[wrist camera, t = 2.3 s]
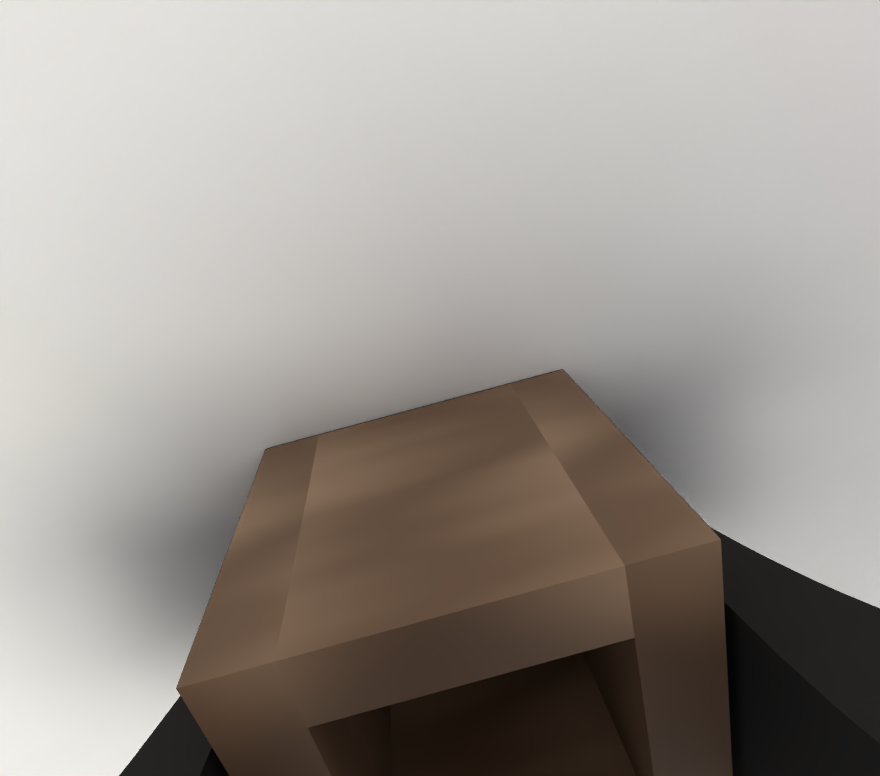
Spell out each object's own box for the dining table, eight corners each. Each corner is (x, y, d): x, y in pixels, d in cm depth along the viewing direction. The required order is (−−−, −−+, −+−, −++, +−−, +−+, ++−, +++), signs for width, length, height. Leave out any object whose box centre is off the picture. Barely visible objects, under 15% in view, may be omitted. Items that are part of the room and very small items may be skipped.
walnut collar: (562, 368, 10) (721, 540, 6) (600, 598, 12) (735, 855, 8) (265, 449, 10) (176, 688, 6) (355, 665, 12) (346, 967, 8)
